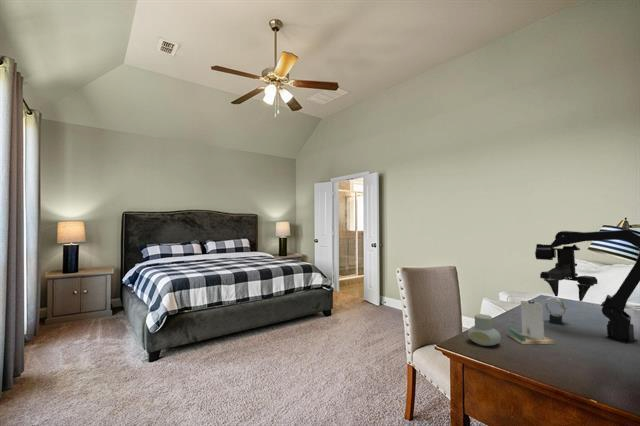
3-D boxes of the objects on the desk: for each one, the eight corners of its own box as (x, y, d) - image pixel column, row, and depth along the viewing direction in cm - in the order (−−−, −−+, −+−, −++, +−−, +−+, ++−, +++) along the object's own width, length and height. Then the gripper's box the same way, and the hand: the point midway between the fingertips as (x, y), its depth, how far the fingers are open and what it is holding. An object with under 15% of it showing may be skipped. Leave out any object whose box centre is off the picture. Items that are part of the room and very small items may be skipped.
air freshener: (504, 344, 114) (502, 316, 114) (497, 350, 108) (495, 321, 108) (473, 337, 122) (471, 311, 122) (465, 342, 116) (463, 315, 116)
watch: (567, 325, 133) (566, 300, 134) (544, 322, 138) (543, 297, 139) (568, 322, 137) (566, 297, 138) (546, 319, 143) (544, 295, 143)
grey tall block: (535, 334, 120) (533, 299, 121) (544, 339, 115) (542, 302, 116) (522, 334, 120) (520, 299, 121) (530, 339, 115) (528, 302, 116)
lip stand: (538, 335, 122) (538, 327, 122) (555, 344, 113) (554, 335, 113) (507, 335, 122) (507, 327, 123) (521, 343, 113) (521, 335, 114)
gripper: (530, 259, 135) (532, 295, 134) (579, 264, 117) (581, 305, 116) (547, 258, 139) (549, 293, 138) (597, 262, 121) (599, 302, 120)
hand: (568, 298), depth 128 cm, fingers open, 9 cm apart
